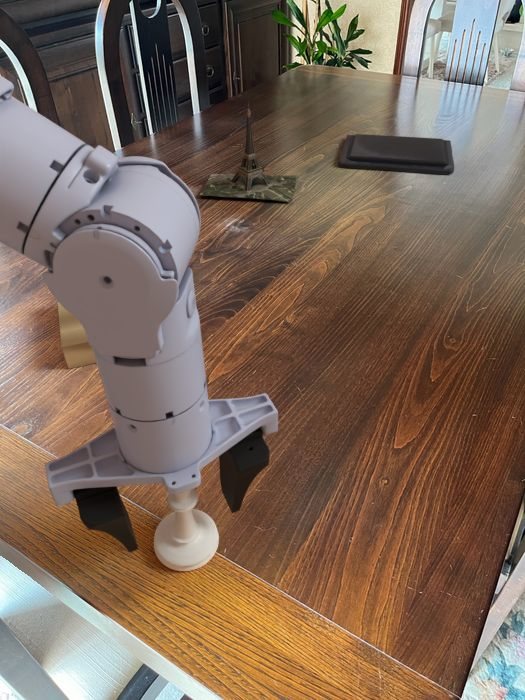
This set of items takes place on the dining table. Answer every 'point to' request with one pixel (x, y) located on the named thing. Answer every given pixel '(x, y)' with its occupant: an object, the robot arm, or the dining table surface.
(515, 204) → the dining table surface
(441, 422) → the dining table surface
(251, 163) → the eiffel tower figurine
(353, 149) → the black flat block
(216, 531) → the chess piece
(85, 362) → the socket
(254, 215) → the dining table surface
